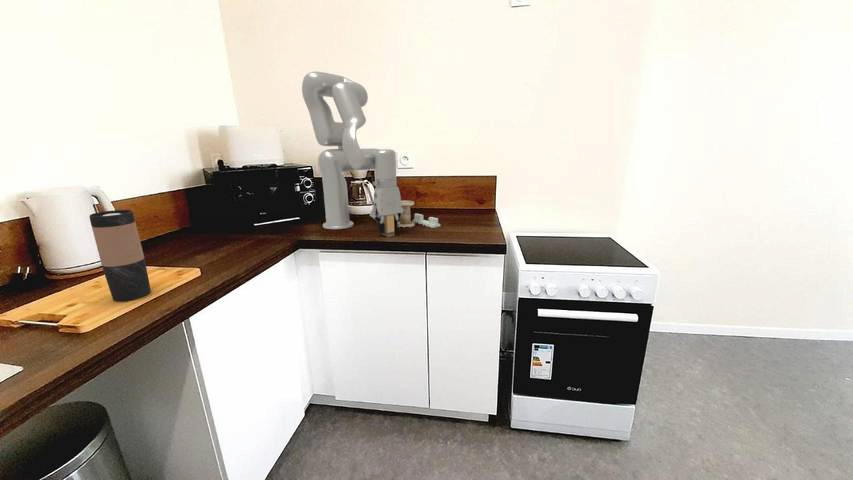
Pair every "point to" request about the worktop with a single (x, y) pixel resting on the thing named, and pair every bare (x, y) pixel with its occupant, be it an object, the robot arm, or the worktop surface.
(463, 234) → the worktop surface
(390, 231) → the tan rectangular block
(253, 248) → the worktop surface
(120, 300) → the travel mug
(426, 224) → the notch board
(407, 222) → the spool
